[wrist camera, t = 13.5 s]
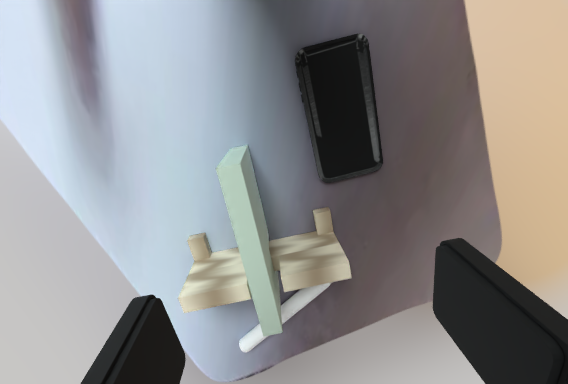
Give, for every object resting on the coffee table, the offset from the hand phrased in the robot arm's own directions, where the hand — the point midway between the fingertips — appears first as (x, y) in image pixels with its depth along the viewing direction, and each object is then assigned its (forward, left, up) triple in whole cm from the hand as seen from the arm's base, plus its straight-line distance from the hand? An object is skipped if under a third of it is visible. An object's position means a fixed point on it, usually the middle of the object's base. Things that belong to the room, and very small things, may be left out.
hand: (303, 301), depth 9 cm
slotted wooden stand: (+11, -4, -24) cm, 27 cm away
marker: (+21, -3, -25) cm, 33 cm away
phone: (-4, +8, -25) cm, 26 cm away
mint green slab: (+7, -4, -24) cm, 25 cm away
